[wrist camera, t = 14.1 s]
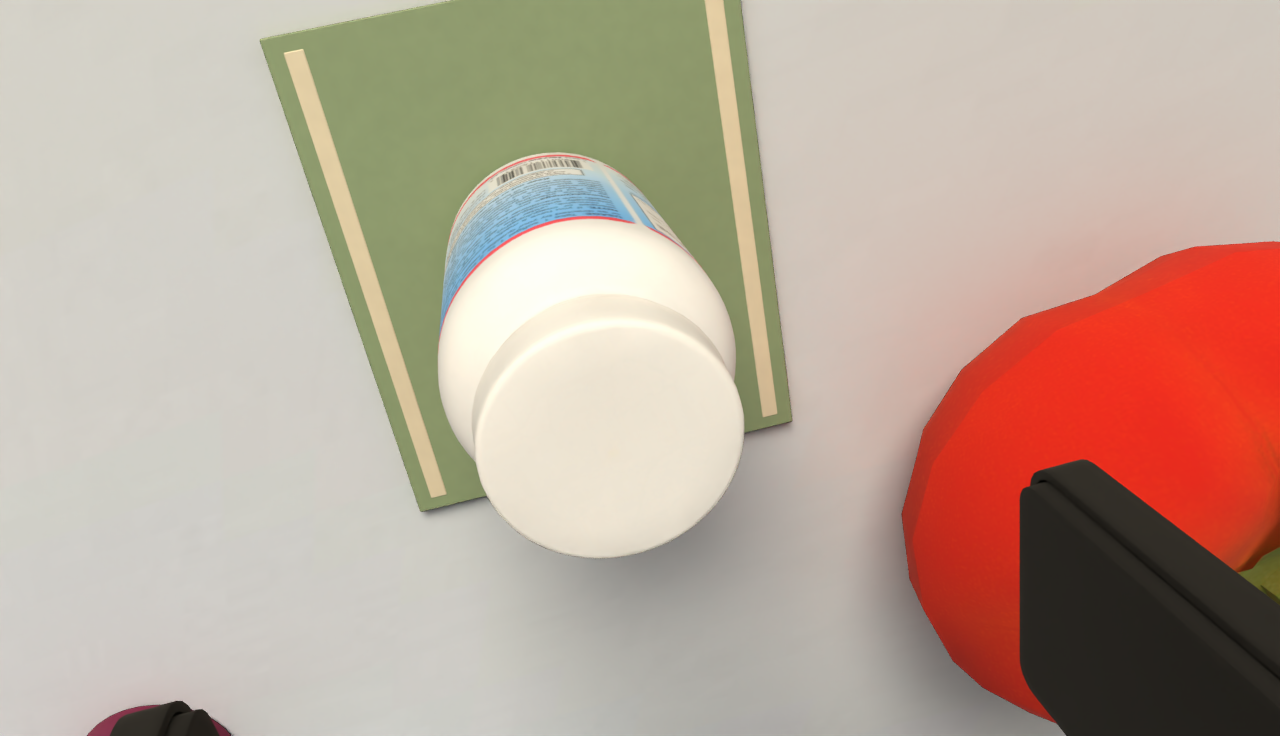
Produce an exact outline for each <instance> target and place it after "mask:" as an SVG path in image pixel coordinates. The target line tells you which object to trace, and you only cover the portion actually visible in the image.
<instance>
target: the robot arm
mask: <svg viewBox="0 0 1280 736" xmlns="http://www.w3.org/2000/svg"><path fill="white" fill-rule="evenodd" d="M1020 666H1021V670H1022V674H1023V676H1024V679H1025V681H1026V683H1027V685H1028V687H1029V689H1030V690H1031V692H1032V693H1033V694H1034V696H1035V697H1036V698H1037V699H1038V701H1039V702H1040V703H1041V704H1042V706H1043V707H1044V708H1045V709H1046V711H1047V712H1048V713H1049V714H1050V716H1051V717H1052V718H1053V719H1054V721H1055V722H1056V723H1057V724H1058V726H1059V727H1060V728H1061V729H1062V731H1063V732H1064V733H1065V734H1066V736H1280V605H1279V604H1278V603H1276V602H1275V601H1274V600H1272V599H1271V598H1270V597H1268V596H1267V595H1266V594H1264V593H1263V592H1262V591H1261V590H1259V589H1258V588H1257V587H1255V586H1254V585H1253V584H1251V583H1250V582H1249V581H1247V580H1246V579H1245V578H1244V577H1242V576H1241V575H1240V574H1238V573H1237V572H1236V571H1234V570H1233V569H1232V568H1230V567H1229V566H1228V565H1227V564H1225V563H1224V562H1223V561H1221V560H1220V559H1219V558H1217V557H1216V556H1215V555H1213V554H1212V553H1211V552H1209V551H1208V550H1207V549H1206V548H1204V547H1203V546H1202V545H1200V544H1199V543H1198V542H1196V541H1195V540H1194V539H1192V538H1191V537H1190V536H1189V535H1187V534H1186V533H1185V532H1183V531H1182V530H1181V529H1179V528H1178V527H1177V526H1175V525H1174V524H1173V523H1172V522H1170V521H1169V520H1168V519H1166V518H1165V517H1164V516H1162V515H1161V514H1160V513H1158V512H1157V511H1156V510H1154V509H1153V508H1152V507H1151V506H1149V505H1148V504H1147V503H1145V502H1144V501H1143V500H1141V499H1140V498H1139V497H1137V496H1136V495H1135V494H1134V493H1132V492H1131V491H1130V490H1128V489H1127V488H1126V487H1124V486H1123V485H1122V484H1120V483H1119V482H1118V481H1117V480H1115V479H1114V478H1113V477H1111V476H1110V475H1109V474H1107V473H1106V472H1105V471H1103V470H1102V469H1101V468H1099V467H1098V466H1097V465H1096V464H1094V463H1092V462H1090V461H1089V460H1084V459H1080V460H1076V461H1072V462H1069V463H1065V464H1061V465H1057V466H1054V467H1050V468H1046V469H1042V470H1039V471H1037V472H1035V473H1034V474H1033V476H1032V478H1031V482H1030V486H1028V487H1025V488H1023V489H1022V491H1021V493H1020ZM110 736H220V735H219V733H218V731H217V729H216V727H215V725H214V724H213V722H212V720H211V718H210V716H209V715H208V713H207V712H205V711H204V710H203V709H201V710H195V711H192V710H191V709H190V707H189V706H188V705H187V704H186V703H184V702H183V701H175V702H171V703H167V704H163V705H160V706H156V707H152V708H148V709H145V710H141V711H137V712H133V713H130V714H126V715H124V716H122V717H121V718H119V719H118V721H117V722H116V724H115V726H114V727H113V729H112V731H111V734H110Z"/></svg>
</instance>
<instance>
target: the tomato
mask: <svg viewBox="0 0 1280 736" xmlns="http://www.w3.org/2000/svg"><path fill="white" fill-rule="evenodd" d="M1080 459H1084V460H1089V461H1090V462H1092V463H1094V464H1096V465H1097V466H1098V467H1099V468H1101V469H1102V470H1103V471H1105V472H1106V473H1107V474H1109V475H1110V476H1111V477H1113V478H1114V479H1115V480H1117V481H1118V482H1119V483H1120V484H1122V485H1123V486H1124V487H1126V488H1127V489H1128V490H1130V491H1131V492H1132V493H1134V494H1135V495H1136V496H1137V497H1139V498H1140V499H1141V500H1143V501H1144V502H1145V503H1147V504H1148V505H1149V506H1151V507H1152V508H1153V509H1154V510H1156V511H1157V512H1158V513H1160V514H1161V515H1162V516H1164V517H1165V518H1166V519H1168V520H1169V521H1170V522H1172V523H1173V524H1174V525H1175V526H1177V527H1178V528H1179V529H1181V530H1182V531H1183V532H1185V533H1186V534H1187V535H1189V536H1190V537H1191V538H1192V539H1194V540H1195V541H1196V542H1198V543H1199V544H1200V545H1202V546H1203V547H1204V548H1206V549H1207V550H1208V551H1209V552H1211V553H1212V554H1213V555H1215V556H1216V557H1217V558H1219V559H1220V560H1221V561H1223V562H1224V563H1225V564H1227V565H1228V566H1229V567H1230V568H1232V569H1233V570H1234V571H1236V572H1237V573H1238V574H1240V575H1241V576H1242V577H1244V578H1245V579H1246V580H1247V581H1249V582H1250V583H1251V584H1253V585H1254V586H1255V587H1257V588H1258V589H1259V590H1261V591H1262V592H1263V593H1264V594H1266V595H1267V596H1268V597H1270V598H1271V599H1272V600H1274V601H1275V602H1276V603H1278V604H1279V605H1280V242H1274V241H1272V242H1258V243H1243V244H1228V245H1214V246H1199V247H1193V248H1189V249H1185V250H1182V251H1178V252H1175V253H1171V254H1167V255H1164V256H1161V257H1159V258H1157V259H1155V260H1154V261H1152V262H1150V263H1148V264H1147V265H1145V266H1143V267H1142V268H1140V269H1138V270H1136V271H1135V272H1133V273H1131V274H1130V275H1128V276H1126V277H1124V278H1123V279H1121V280H1119V281H1118V282H1116V283H1114V284H1112V285H1111V286H1109V287H1107V288H1105V289H1104V290H1102V291H1100V292H1099V293H1097V294H1095V295H1093V296H1089V297H1086V298H1083V299H1080V300H1077V301H1074V302H1071V303H1067V304H1064V305H1061V306H1058V307H1055V308H1052V309H1049V310H1046V311H1042V312H1039V313H1036V314H1033V315H1030V316H1027V317H1024V318H1021V319H1020V320H1019V321H1018V322H1017V323H1015V324H1014V325H1013V326H1012V327H1011V328H1010V329H1008V330H1007V331H1006V332H1005V333H1004V334H1003V335H1001V336H1000V337H999V338H998V339H997V340H996V341H994V342H993V343H992V344H991V345H990V346H989V347H987V348H986V349H985V350H984V351H983V352H982V353H980V354H979V355H978V356H977V357H976V358H975V359H973V360H972V361H971V362H970V363H969V364H968V365H966V366H965V367H964V368H963V369H962V370H961V371H960V373H959V375H958V376H957V378H956V379H955V381H954V382H953V384H952V385H951V387H950V389H949V390H948V392H947V393H946V395H945V396H944V398H943V400H942V401H941V403H940V404H939V406H938V407H937V409H936V410H935V412H934V414H933V415H932V417H931V418H930V420H929V421H928V423H927V425H926V426H925V428H924V429H923V433H922V437H921V441H920V445H919V449H918V454H917V458H916V462H915V465H914V469H913V473H912V477H911V480H910V484H909V488H908V492H907V496H906V499H905V503H904V507H903V511H902V521H903V530H904V538H905V546H906V554H907V562H908V571H909V579H910V581H911V583H912V586H913V588H914V590H915V592H916V594H917V596H918V599H919V601H920V603H921V605H922V607H923V610H924V611H925V613H926V615H927V617H928V618H929V620H930V622H931V624H932V625H933V627H934V629H935V631H936V632H937V634H938V636H939V638H940V639H941V641H942V643H943V645H944V646H945V648H946V650H947V651H948V653H949V655H950V657H951V658H952V660H953V661H954V662H955V663H956V664H957V665H958V666H959V667H960V668H961V669H963V670H964V671H965V672H966V673H967V674H968V675H969V676H970V677H971V678H973V679H974V680H975V681H976V682H977V683H978V684H979V685H980V686H982V687H983V688H984V689H986V690H988V691H990V692H992V693H994V694H996V695H997V696H999V697H1001V698H1003V699H1005V700H1007V701H1009V702H1011V703H1012V704H1014V705H1016V706H1018V707H1020V708H1022V709H1024V710H1026V711H1027V712H1029V713H1032V714H1034V715H1037V716H1039V717H1042V718H1044V719H1047V720H1049V721H1052V722H1054V723H1056V722H1055V721H1054V719H1053V718H1052V717H1051V716H1050V714H1049V713H1048V712H1047V711H1046V709H1045V708H1044V707H1043V706H1042V704H1041V703H1040V702H1039V701H1038V699H1037V698H1036V697H1035V696H1034V694H1033V693H1032V692H1031V690H1030V689H1029V687H1028V685H1027V683H1026V681H1025V679H1024V676H1023V674H1022V670H1021V666H1020V493H1021V491H1022V489H1023V488H1025V487H1028V486H1030V482H1031V478H1032V476H1033V474H1034V473H1035V472H1037V471H1039V470H1042V469H1046V468H1050V467H1054V466H1057V465H1061V464H1065V463H1069V462H1072V461H1076V460H1080Z"/></svg>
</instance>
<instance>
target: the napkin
mask: <svg viewBox="0 0 1280 736" xmlns="http://www.w3.org/2000/svg"><path fill="white" fill-rule="evenodd" d="M260 43H261V46H262V49H263V52H264V55H265V58H266V60H267V63H268V66H269V69H270V72H271V75H272V78H273V81H274V84H275V87H276V90H277V93H278V96H279V99H280V101H281V104H282V107H283V110H284V113H285V116H286V119H287V122H288V125H289V128H290V131H291V134H292V137H293V140H294V143H295V145H296V148H297V151H298V154H299V157H300V160H301V163H302V166H303V169H304V172H305V175H306V178H307V181H308V184H309V187H310V189H311V192H312V195H313V198H314V201H315V204H316V207H317V210H318V213H319V216H320V219H321V222H322V225H323V228H324V230H325V233H326V236H327V239H328V242H329V245H330V248H331V251H332V254H333V257H334V260H335V263H336V266H337V269H338V272H339V274H340V277H341V280H342V283H343V286H344V289H345V292H346V295H347V298H348V301H349V304H350V307H351V310H352V313H353V315H354V318H355V321H356V324H357V327H358V330H359V333H360V336H361V339H362V342H363V345H364V348H365V351H366V354H367V357H368V359H369V362H370V365H371V368H372V371H373V374H374V377H375V380H376V383H377V386H378V389H379V392H380V395H381V398H382V401H383V403H384V406H385V409H386V412H387V415H388V418H389V421H390V424H391V427H392V430H393V433H394V436H395V439H396V442H397V444H398V447H399V450H400V453H401V456H402V459H403V462H404V465H405V468H406V471H407V474H408V477H409V480H410V483H411V486H412V488H413V491H414V494H415V497H416V500H417V503H418V506H419V509H420V511H421V512H423V511H427V510H431V509H435V508H439V507H443V506H447V505H451V504H455V503H459V502H463V501H468V500H472V499H476V498H480V497H484V496H487V494H486V492H485V490H484V488H483V486H482V484H481V482H480V478H479V474H478V470H477V466H476V462H475V461H474V460H473V459H472V458H471V457H470V455H469V454H468V453H467V452H466V451H465V449H464V448H463V447H462V445H461V444H460V442H459V441H458V439H457V437H456V436H455V434H454V432H453V430H452V428H451V426H450V424H449V421H448V419H447V416H446V414H445V411H444V408H443V404H442V400H441V396H440V390H439V382H438V344H439V333H440V321H441V308H442V295H443V282H444V273H445V261H446V253H447V247H448V241H449V237H450V233H451V229H452V226H453V223H454V220H455V218H456V215H457V213H458V211H459V209H460V207H461V206H462V204H463V202H464V201H465V200H466V198H467V197H468V195H469V194H470V193H471V192H472V191H473V189H474V188H475V187H476V186H477V185H478V184H479V183H480V182H481V181H482V180H483V179H484V178H486V177H487V176H488V175H490V174H491V173H492V172H494V171H495V170H497V169H498V168H500V167H502V166H504V165H506V164H508V163H510V162H512V161H515V160H517V159H520V158H523V157H527V156H530V155H535V154H541V153H556V152H561V153H571V154H578V155H582V156H586V157H589V158H592V159H595V160H598V161H600V162H603V163H605V164H607V165H609V166H610V167H612V168H614V169H615V170H617V171H618V172H620V173H621V174H623V175H624V176H625V177H627V178H628V179H629V180H630V181H631V182H632V183H633V184H634V185H635V186H636V187H637V188H638V189H639V190H640V191H641V192H642V193H643V194H644V196H645V197H646V198H647V199H648V200H649V202H650V203H651V204H652V205H653V207H654V208H655V209H656V210H657V212H658V213H659V214H660V216H661V217H662V218H663V219H664V221H665V222H666V223H667V224H668V226H669V227H670V228H671V230H672V231H673V232H674V233H675V235H676V236H677V237H678V238H679V240H680V241H681V242H682V244H683V245H684V246H685V247H686V249H687V250H688V251H689V252H690V254H691V255H692V256H693V257H694V258H695V260H696V261H697V263H698V264H699V265H700V266H701V267H702V269H703V270H704V271H705V273H706V274H707V275H708V277H709V279H710V280H711V281H712V283H713V285H714V286H715V288H716V289H717V291H718V293H719V294H720V296H721V298H722V300H723V302H724V305H725V307H726V310H727V312H728V315H729V317H730V321H731V325H732V329H733V333H734V338H735V347H736V367H735V378H734V383H735V385H736V387H737V390H738V394H739V397H740V400H741V404H742V408H743V413H744V427H745V429H744V433H746V432H750V431H754V430H758V429H762V428H766V427H770V426H774V425H779V424H783V423H787V422H791V421H792V415H791V407H790V398H789V390H788V382H787V374H786V366H785V358H784V350H783V342H782V334H781V326H780V317H779V309H778V301H777V293H776V285H775V277H774V269H773V261H772V253H771V245H770V237H769V228H768V220H767V212H766V204H765V196H764V188H763V180H762V172H761V164H760V156H759V147H758V139H757V131H756V123H755V115H754V107H753V99H752V91H751V83H750V75H749V67H748V58H747V50H746V42H745V34H744V26H743V18H742V10H741V2H740V0H451V1H446V2H441V3H436V4H431V5H426V6H421V7H416V8H411V9H406V10H402V11H397V12H392V13H387V14H382V15H377V16H372V17H367V18H362V19H357V20H352V21H347V22H342V23H337V24H332V25H327V26H322V27H317V28H312V29H307V30H302V31H297V32H292V33H288V34H283V35H278V36H273V37H268V38H263V39H260Z"/></svg>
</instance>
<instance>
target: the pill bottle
mask: <svg viewBox="0 0 1280 736" xmlns="http://www.w3.org/2000/svg"><path fill="white" fill-rule="evenodd" d="M735 367H736V347H735V338H734V333H733V329H732V325H731V321H730V317H729V315H728V312H727V310H726V307H725V305H724V302H723V300H722V298H721V296H720V294H719V293H718V291H717V289H716V288H715V286H714V285H713V283H712V281H711V280H710V279H709V277H708V275H707V274H706V273H705V271H704V270H703V269H702V267H701V266H700V265H699V264H698V263H697V261H696V260H695V258H694V257H693V256H692V255H691V254H690V252H689V251H688V250H687V249H686V247H685V246H684V245H683V244H682V242H681V241H680V240H679V238H678V237H677V236H676V235H675V233H674V232H673V231H672V230H671V228H670V227H669V226H668V224H667V223H666V222H665V221H664V219H663V218H662V217H661V216H660V214H659V213H658V212H657V210H656V209H655V208H654V207H653V205H652V204H651V203H650V202H649V200H648V199H647V198H646V197H645V196H644V194H643V193H642V192H641V191H640V190H639V189H638V188H637V187H636V186H635V185H634V184H633V183H632V182H631V181H630V180H629V179H628V178H627V177H625V176H624V175H623V174H621V173H620V172H618V171H617V170H615V169H614V168H612V167H610V166H609V165H607V164H605V163H603V162H600V161H598V160H595V159H592V158H589V157H586V156H582V155H578V154H571V153H561V152H556V153H541V154H535V155H530V156H527V157H523V158H520V159H517V160H515V161H512V162H510V163H508V164H506V165H504V166H502V167H500V168H498V169H497V170H495V171H494V172H492V173H491V174H490V175H488V176H487V177H486V178H484V179H483V180H482V181H481V182H480V183H479V184H478V185H477V186H476V187H475V188H474V189H473V191H472V192H471V193H470V194H469V195H468V197H467V198H466V200H465V201H464V202H463V204H462V206H461V207H460V209H459V211H458V213H457V215H456V218H455V220H454V223H453V226H452V229H451V233H450V237H449V241H448V247H447V253H446V261H445V273H444V282H443V295H442V308H441V321H440V333H439V344H438V382H439V390H440V396H441V400H442V404H443V408H444V411H445V414H446V416H447V419H448V421H449V424H450V426H451V428H452V430H453V432H454V434H455V436H456V437H457V439H458V441H459V442H460V444H461V445H462V447H463V448H464V449H465V451H466V452H467V453H468V454H469V455H470V457H471V458H472V459H473V460H474V461H475V462H476V466H477V470H478V474H479V478H480V482H481V484H482V486H483V488H484V490H485V492H486V494H487V496H488V498H489V500H490V502H491V504H492V505H493V507H494V508H495V509H496V511H497V512H498V513H499V515H500V516H501V517H502V518H503V519H504V520H505V521H506V522H507V523H508V524H509V525H510V526H511V527H512V528H513V529H515V530H516V531H517V532H518V533H519V534H521V535H522V536H524V537H525V538H527V539H528V540H530V541H532V542H534V543H536V544H538V545H540V546H542V547H544V548H546V549H549V550H552V551H555V552H558V553H561V554H565V555H570V556H575V557H581V558H593V559H605V558H617V557H623V556H628V555H634V554H638V553H642V552H645V551H648V550H651V549H654V548H656V547H659V546H661V545H664V544H666V543H668V542H670V541H672V540H674V539H675V538H677V537H678V536H680V535H682V534H683V533H685V532H686V531H688V530H689V529H691V528H692V527H694V526H695V525H696V524H697V523H698V522H699V521H700V520H701V519H703V518H704V517H705V516H706V515H707V514H708V513H709V512H710V511H711V510H712V509H713V507H714V506H715V505H716V504H717V502H718V501H719V500H720V499H721V497H722V496H723V495H724V493H725V492H726V490H727V488H728V486H729V484H730V483H731V481H732V479H733V477H734V474H735V472H736V470H737V467H738V464H739V461H740V458H741V454H742V448H743V443H744V429H745V427H744V413H743V408H742V404H741V400H740V397H739V394H738V390H737V387H736V385H735V383H734V378H735Z"/></svg>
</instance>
